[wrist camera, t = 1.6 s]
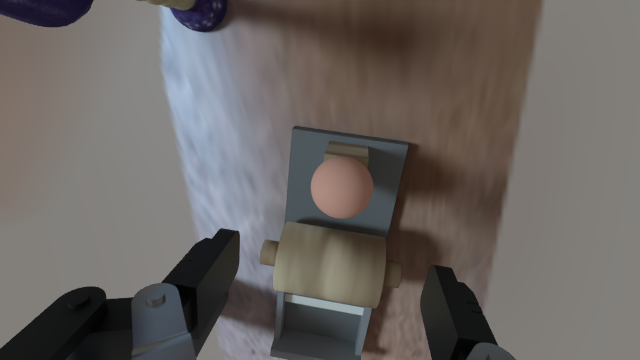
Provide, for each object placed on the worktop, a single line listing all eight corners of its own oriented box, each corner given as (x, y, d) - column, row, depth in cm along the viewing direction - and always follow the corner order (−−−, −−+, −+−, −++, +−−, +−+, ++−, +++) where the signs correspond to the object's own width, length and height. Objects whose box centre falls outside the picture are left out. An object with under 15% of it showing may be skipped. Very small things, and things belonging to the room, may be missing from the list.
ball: (318, 144, 21) (309, 164, 18) (377, 153, 21) (380, 174, 17) (312, 196, 23) (302, 224, 19) (367, 205, 23) (367, 235, 19)
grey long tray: (294, 125, 25) (286, 135, 23) (406, 142, 25) (412, 153, 22) (277, 331, 34) (270, 356, 32) (359, 347, 34) (359, 373, 31)
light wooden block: (330, 137, 25) (324, 153, 21) (367, 142, 25) (368, 160, 21) (326, 171, 27) (319, 193, 23) (361, 176, 26) (361, 199, 22)
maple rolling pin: (270, 258, 30) (251, 302, 25) (274, 206, 28) (253, 242, 22) (389, 279, 29) (394, 328, 24) (402, 227, 27) (411, 269, 22)
